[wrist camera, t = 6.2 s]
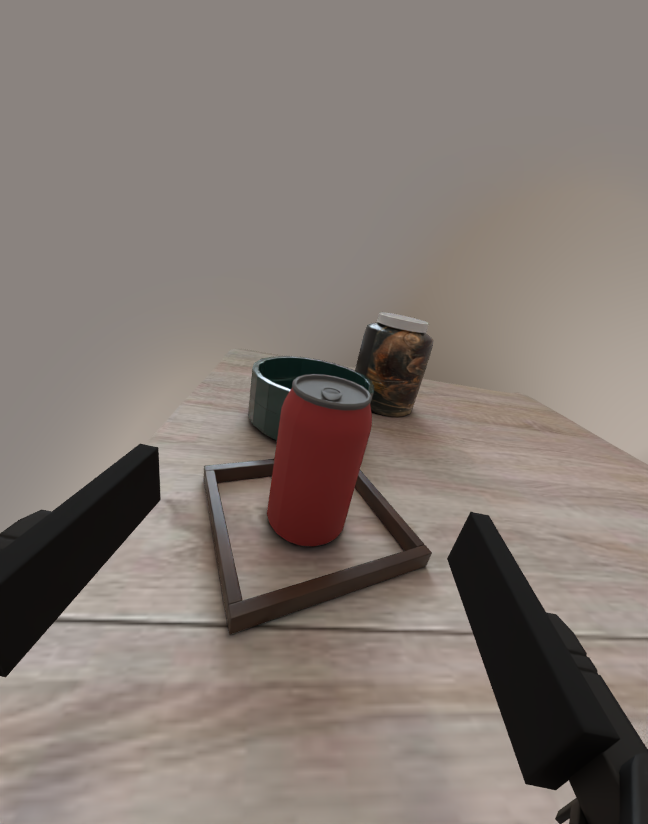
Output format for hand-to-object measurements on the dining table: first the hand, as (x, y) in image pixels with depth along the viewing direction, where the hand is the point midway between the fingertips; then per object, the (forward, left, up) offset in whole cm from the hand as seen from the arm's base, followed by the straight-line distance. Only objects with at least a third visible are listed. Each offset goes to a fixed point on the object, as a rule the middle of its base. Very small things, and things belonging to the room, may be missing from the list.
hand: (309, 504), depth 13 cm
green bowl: (+25, -12, -10) cm, 30 cm away
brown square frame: (+8, -5, -10) cm, 14 cm away
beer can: (+8, -5, -10) cm, 14 cm away
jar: (+31, -29, -10) cm, 44 cm away
